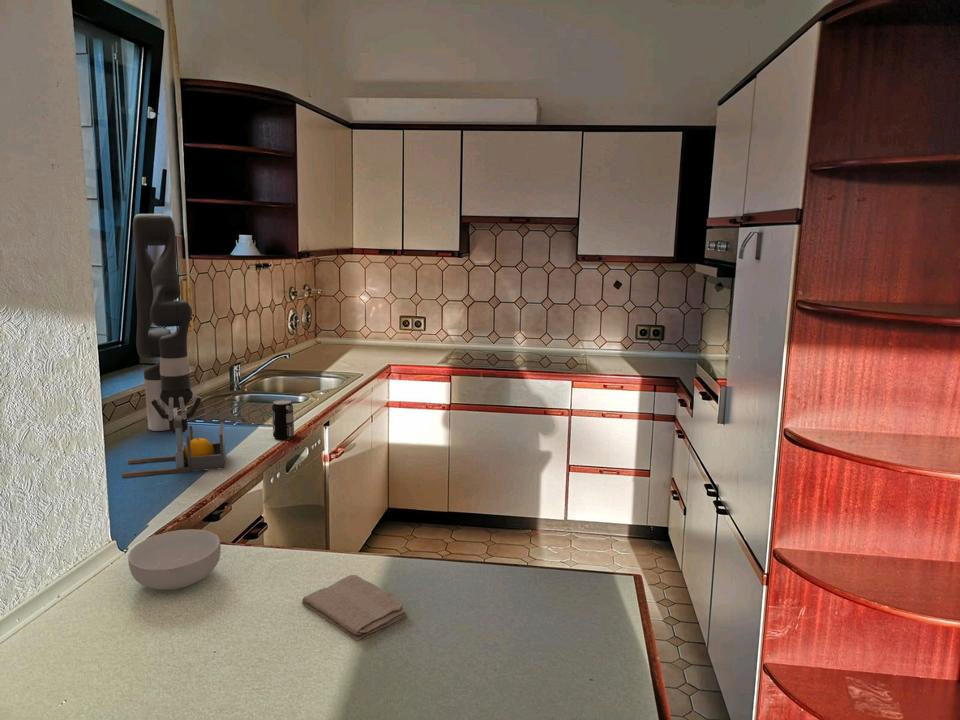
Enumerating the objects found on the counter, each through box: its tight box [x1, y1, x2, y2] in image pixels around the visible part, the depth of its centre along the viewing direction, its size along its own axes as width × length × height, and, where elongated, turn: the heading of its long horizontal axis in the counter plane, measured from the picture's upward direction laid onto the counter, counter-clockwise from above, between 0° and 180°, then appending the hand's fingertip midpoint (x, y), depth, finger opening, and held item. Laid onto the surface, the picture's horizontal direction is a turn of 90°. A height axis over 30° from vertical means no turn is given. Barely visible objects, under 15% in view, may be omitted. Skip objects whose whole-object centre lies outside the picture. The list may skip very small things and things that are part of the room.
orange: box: [184, 437, 214, 462], centre depth 206 cm, size 8×8×8 cm
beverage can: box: [271, 398, 295, 441], centre depth 231 cm, size 7×7×12 cm
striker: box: [173, 414, 187, 468], centre depth 204 cm, size 9×2×14 cm, turn 18°
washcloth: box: [301, 574, 408, 642], centre depth 131 cm, size 12×18×3 cm, turn 48°
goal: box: [186, 422, 226, 472], centre depth 207 cm, size 12×9×10 cm
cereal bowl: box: [127, 528, 222, 591], centre depth 141 cm, size 17×17×7 cm
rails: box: [121, 455, 190, 478], centre depth 203 cm, size 12×17×1 cm
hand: (178, 431), depth 203 cm, fingers closed on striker, 2 cm apart
